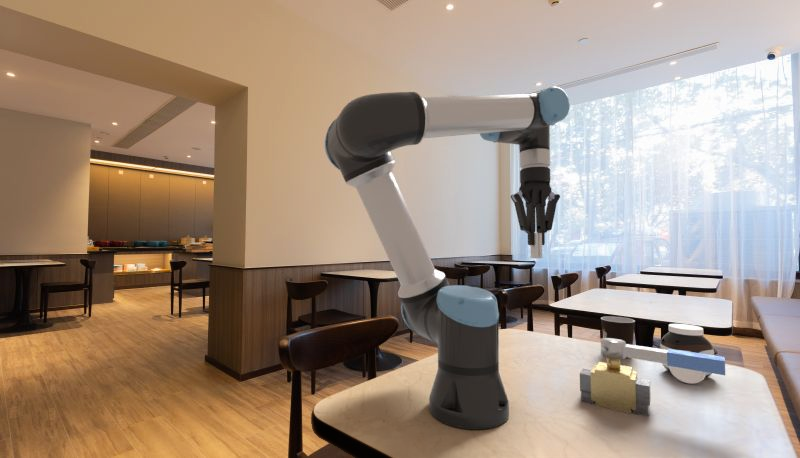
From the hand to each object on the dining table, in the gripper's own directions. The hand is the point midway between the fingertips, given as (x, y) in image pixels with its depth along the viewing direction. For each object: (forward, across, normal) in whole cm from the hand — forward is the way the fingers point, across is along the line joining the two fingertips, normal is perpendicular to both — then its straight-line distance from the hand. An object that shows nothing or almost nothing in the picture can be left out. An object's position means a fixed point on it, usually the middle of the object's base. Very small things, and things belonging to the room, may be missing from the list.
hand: (536, 258), depth 97 cm
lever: (+19, -9, +28) cm, 35 cm away
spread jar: (+29, -32, +12) cm, 45 cm away
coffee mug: (+29, -30, -8) cm, 42 cm away
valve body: (+28, -4, +22) cm, 36 cm away
